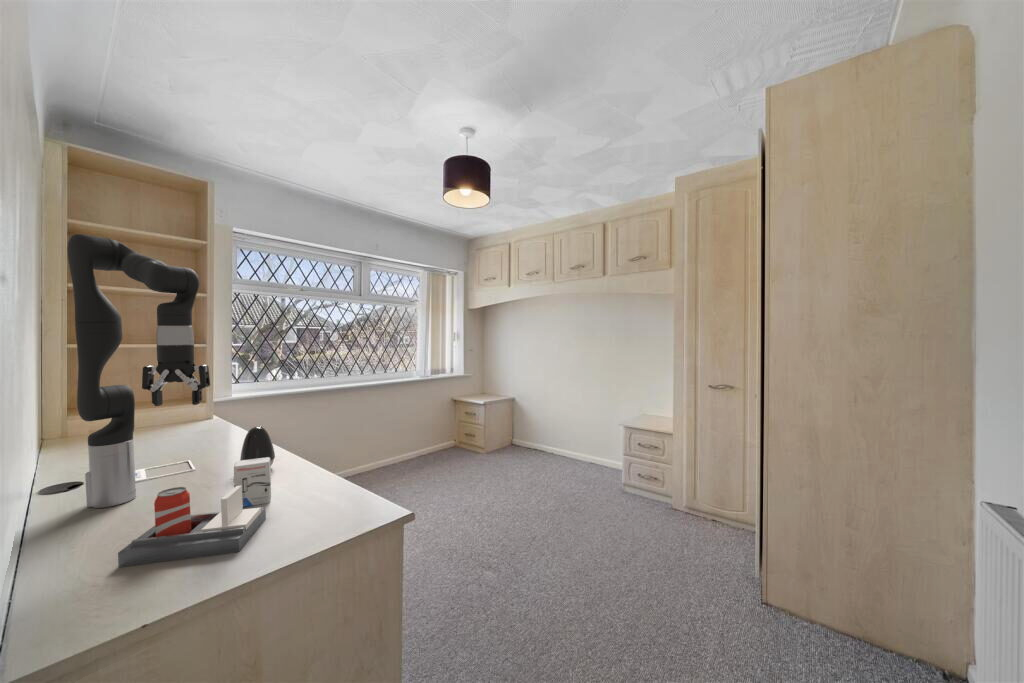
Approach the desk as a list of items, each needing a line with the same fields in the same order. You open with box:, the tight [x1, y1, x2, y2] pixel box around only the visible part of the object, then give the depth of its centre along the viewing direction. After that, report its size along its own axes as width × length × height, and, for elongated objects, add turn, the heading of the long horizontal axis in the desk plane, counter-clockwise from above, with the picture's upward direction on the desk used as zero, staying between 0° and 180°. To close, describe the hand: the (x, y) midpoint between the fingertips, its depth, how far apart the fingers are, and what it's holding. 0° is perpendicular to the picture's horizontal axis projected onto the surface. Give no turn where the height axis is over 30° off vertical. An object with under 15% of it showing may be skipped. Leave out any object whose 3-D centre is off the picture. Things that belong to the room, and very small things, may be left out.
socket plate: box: [117, 506, 267, 568], centre depth 94 cm, size 22×16×4 cm
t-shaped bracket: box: [201, 486, 261, 532], centre depth 95 cm, size 9×9×7 cm
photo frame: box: [135, 459, 196, 484], centre depth 141 cm, size 15×1×18 cm
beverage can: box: [153, 486, 192, 537], centre depth 93 cm, size 6×6×12 cm
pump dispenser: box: [239, 425, 276, 467], centre depth 141 cm, size 10×10×15 cm
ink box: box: [233, 457, 272, 508], centre depth 114 cm, size 9×5×12 cm, turn 117°
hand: (177, 405), depth 107 cm, fingers open, 8 cm apart
